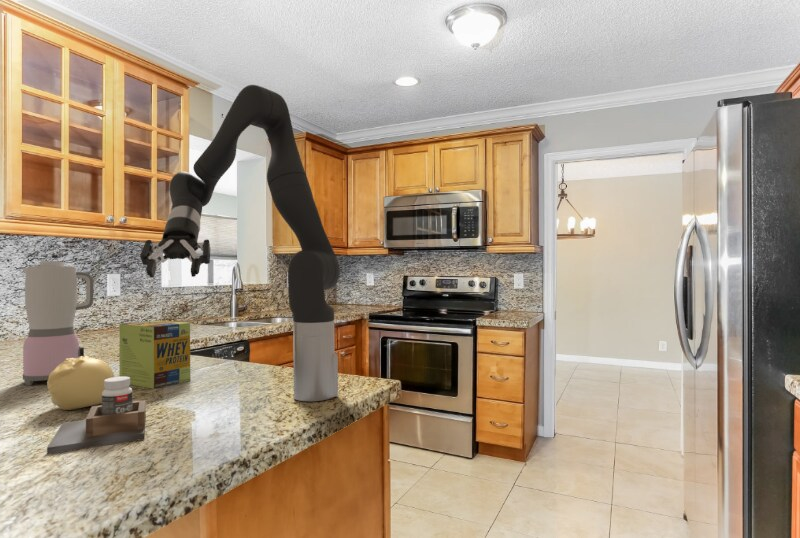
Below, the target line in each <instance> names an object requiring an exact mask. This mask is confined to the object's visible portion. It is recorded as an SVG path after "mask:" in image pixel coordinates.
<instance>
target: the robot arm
mask: <svg viewBox="0 0 800 538" xmlns="http://www.w3.org/2000/svg"><path fill="white" fill-rule="evenodd" d="M250 126H254V127H257V128H260V129H263V131H264V132H265V134H266V136H267V139H268V142H269V146H270V149H271V150H270V151H271V154H270V159H269V162H268V167H267V171H266V180H267V186H268V188H269V192H270V195H271V198H272V201H273V203H274V206H275V208H276V210H277V211H278V213H279V214H280V216H281V218H282V219H283V220H284V221H285V222H286V224H287V225H288V226H289V227H290V229H291V230H292V231H293V233H294V235H295V236H296V238H297V241H298V243H299V245H300V248H301V250H299V251H297V252H295V253H294V254H293V256H292V257H291V259H290V260H289V263H288V267H287V269H288V270H287V287H288V288H287V289H288V303H289V308H290V311H291V314H292V321H293V322H292V324H293V325H292V328H293V329H292V331H293V332H292V335H293V337H292V338H293V339H292V340H293V341H292V342H293V343H292V344H293V345H292V346H293V347H292V348H293V352H292V353H293V355H292V356H293V358H292V359H293V399H294V400H296V401H300V402H322V401H326V400H330V399H333V398H335V397H339V376H338V375H339V368H338V367H339V363H338V362H339V360H338V359H339V358H338V354H337V353H335V309H334V308H333V307H332V306H330V305H329V304H328V302H327V301H326V296H325V291H327V290H330V289H333V288H334V287H335V286H336V284H338V282H339V278H340V275H341V274H340V272H341V270H340V265H339V260H338V258H337V256H336V254H335V251H334V248H333V246H332V245H331V242H330V241H329V240H330V239H329V238H328V236H327V233H326V231H325V229H324V226H323V223H322V220H321V216H320V213H319V211H318V207H317V204H316V202H315V199H314V194H313V191H312V190H311V189H312V188H311V184H310V182H309V180H308V176H307V173H306V171H305V168H304V165H303V162H302V159H301V155H300V152H299V148H298V146H297V141H296V138H295V135H294V130H293V125H292V121H291V115H290V110H289V108H288V104H287V101H286V100H285V99H284V97H283V96H282V95H281V94H279V93H278V92H275V91H273V90H270V89H268V88H266V87H263V86H261V85H259V84H253V83H251V84H248V85H246V86H244V87H243V88H242V89H241V90H240V91H239V92H238V93H237V96H236V97H235V99H234V101H233V102H232V104H231V106H230V108H229V109H228V112H227V113H226V115H225V118H224V119H223V121H222V123H221V124H220V127H219V129H218V130H217V132H216V135H215V136H214V137H213V139H212V140H211V142H210V144H209V145H208V146H207V147H206V149H205V150H204V151H203V152H202V154H201V155H200V156H199V157H198V158H197V160H196V161H195V162H194V164H193V171H194V174H195V175H196V176H195V175H194V174H192V173H189V172H187V171H179V172H176V174H174V175H173V176H172V178H171V179H170V183H169V194H170V199H171V204H172V205H171V209H170V212H169V214H168V216H167V220H166V222H165V227H164V230H163V234H162V238H161V240H160V241H159V242H153V241H152V240H151V239H147V240H145V242H144V245H143V248H142V250H141V253H140V254H139V257H140V260H141V264H142V265H143V266H146V267H145V271H146V274H147V276H149V278H150V279H151V278H155V275H156V271H157V266H158V265H159V264H161V263H165V262H166V261H168V260H176V259H179V260H185V258H186V259H187V260H188V261H189V262H191V266H190V275H191V277H193V278H195V277H196V275H198V274H199V273H200V269H201V266H202V264H205V265H208V264H210V262H211V249H212V248H211V244H210V240H209V239H204V240H203V242H198V239H199V235H200V231H201V218H202V212H203V207H205V206H207V205H208V204H209V202H210V201H211V199H212V196H213V194H214V190H215V188H216V186H217V184H218V182H219V180H221V178H222V177H223V176H224V174H225V173H226V172H227V171H228V170H229V169H230V168H231V166H232V165H233V163H234V161H235V158H236V156H237V149H238V147H237V146H238V141H239V137H240V136H241V135H242V133H243V132H244V131H245V130H246V129H247V128H249V127H250ZM198 249H200V251H202V254H200V255H199V253H197V250H198Z"/></svg>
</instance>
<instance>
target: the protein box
mask: <svg viewBox="0 0 800 538" xmlns="http://www.w3.org/2000/svg"><path fill="white" fill-rule="evenodd" d="M118 328H119V349H118V350H119V355H118V356H119V360H118V361H119V376H118V377H123V376H125V377H130V386H131V385H133V386H137V387H141V388H148V389H152V390H154V389H160V388H164V387H169V386H172V385H178V384H182V383H186V381H187V382H190V381H191V322H185V321H169V320H167V321H166V320H165V321H164V320H150V321H147V320H146V321H136V322H124V323H119V327H118Z"/></svg>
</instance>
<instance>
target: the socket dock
mask: <svg viewBox="0 0 800 538" xmlns="http://www.w3.org/2000/svg"><path fill="white" fill-rule="evenodd" d="M146 418H147V412H146V399H144V400H143V399H142V400H134V401H133V400H132V412H126V413H118V414H110V415H103V416H102V404H101V405H100V404H99V405H93V406H91V408H90V409H89V412H88V414H87V416H86V417H85V419H81V420H75V421H67V422H66V421H65V422H62V423H61V425H60V426H59V428H58V429H57V431H56V432H55V434H54V436H53V438H52V439H51V441H50V442H49V444H48V446H47V447H46V454H47V455H50V454H57V453H64V452H70V451H76V450H82V449H89V448H90V449H91V448H95V447H102V446H107V445H108V446H110V445H116V444H122V443H123V444H124V443H127V442H133V441H134V442H135V441H141V440H145V434H146V433H145V432H146V420H147V419H146Z"/></svg>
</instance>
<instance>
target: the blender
mask: <svg viewBox="0 0 800 538" xmlns="http://www.w3.org/2000/svg"><path fill="white" fill-rule="evenodd" d="M21 269H22V270H24V271H25V279H24V305H25V310H26V311H25V312H26V316H27V320H28V321H27V322H28V326H29V331H28V335H27V337H26V338H25V340H24V343H23V347H22V348H23V350H22V363H23V364H22V365H23V367H22V369H23V374H22V380H23V381H24V384H25V386H32V385H33V383H34V382H38V381H39V382H40V381H48V378H49V375H50V374H51V372H53V371H54V370H55V368H56V367H57V366H59V365H60V364H61V363H63V362H64V361H65V360H66V359H68V358H74V359H76V358H79V357H80V356H83V357H84V356H85V354H84V353H85V348H84V347H81V346H80V343H81V341H80V339H79V337H78V335H77V333H76V332H75V329H74V324H75V323H74V322H75V317H76V311H78V310H79V311H80V310H84V309H85V310H87V309H89V308H91V307H92V306H93V304H94V295H95V292H94V290H95V288H94V277H93V276H92V275H91V274H89V273H88V272H83V271H77V268H76V266H69V265H68V266H64V261H53V260H51V261H40V262H39V266H27V267H22V268H21ZM78 279H83V280H85V281H86V282H85V283H86V289H85V291H86V292H85V302H80V303H78Z"/></svg>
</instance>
